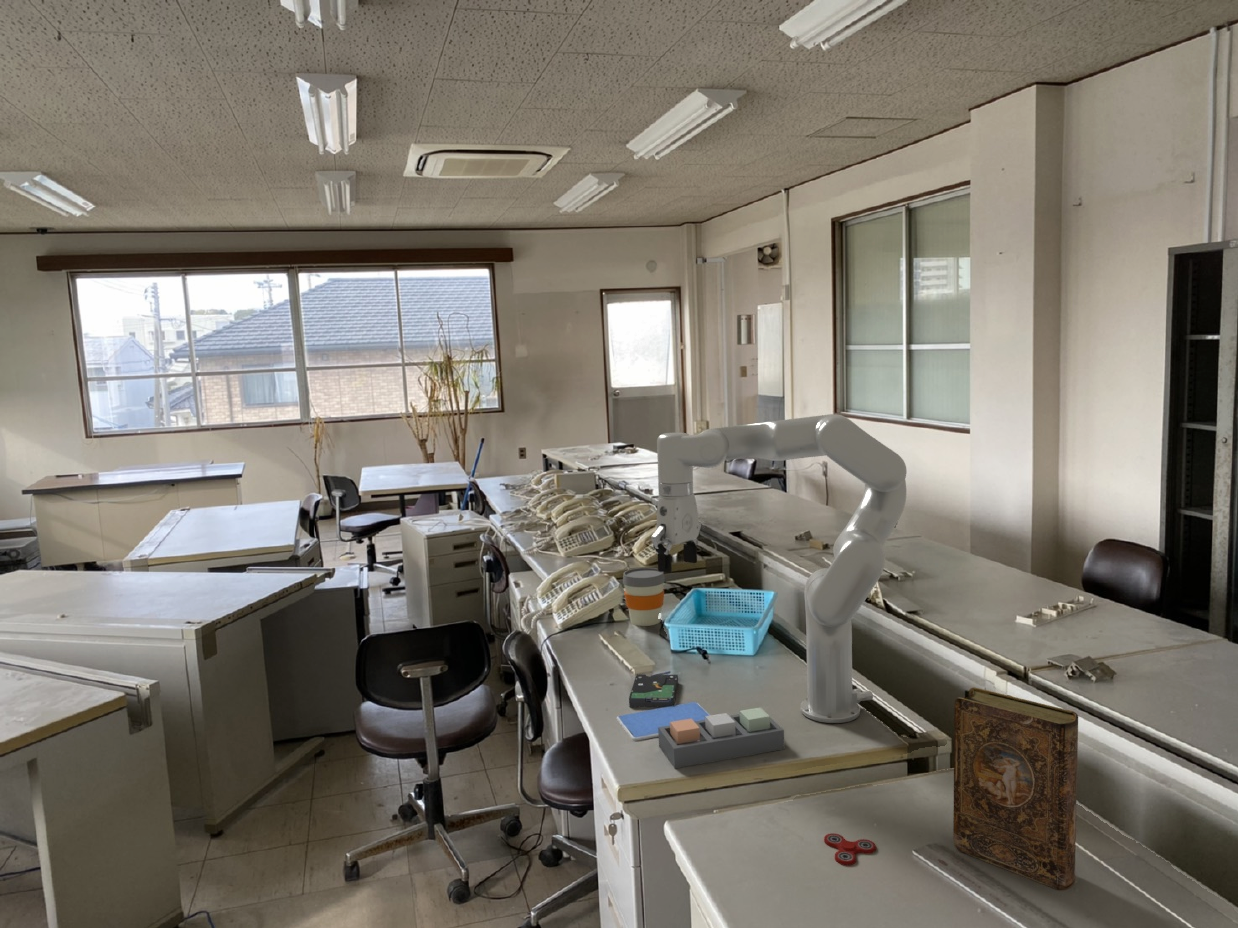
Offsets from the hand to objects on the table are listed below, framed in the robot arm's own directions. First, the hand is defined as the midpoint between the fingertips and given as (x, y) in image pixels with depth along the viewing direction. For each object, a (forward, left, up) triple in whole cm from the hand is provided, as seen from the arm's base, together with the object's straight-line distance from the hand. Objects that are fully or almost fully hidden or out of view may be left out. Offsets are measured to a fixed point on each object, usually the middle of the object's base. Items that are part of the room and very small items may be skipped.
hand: (677, 566), depth 184 cm
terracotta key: (+7, +20, -29) cm, 36 cm away
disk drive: (+4, -10, -34) cm, 35 cm away
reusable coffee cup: (-10, -64, -33) cm, 73 cm away
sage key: (-8, +20, -29) cm, 36 cm away
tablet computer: (+6, +5, -34) cm, 34 cm away
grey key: (-1, +20, -29) cm, 35 cm away
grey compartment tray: (-1, +20, -33) cm, 38 cm away
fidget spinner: (-7, +60, -33) cm, 69 cm away
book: (-28, +71, -33) cm, 83 cm away
